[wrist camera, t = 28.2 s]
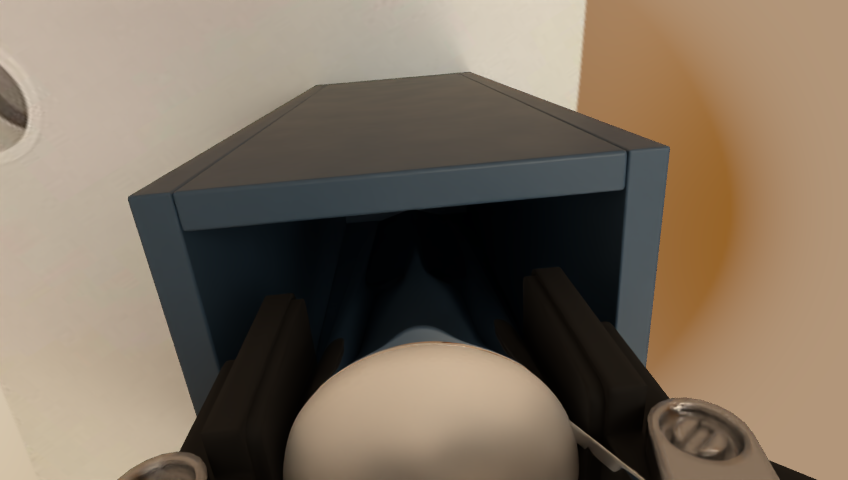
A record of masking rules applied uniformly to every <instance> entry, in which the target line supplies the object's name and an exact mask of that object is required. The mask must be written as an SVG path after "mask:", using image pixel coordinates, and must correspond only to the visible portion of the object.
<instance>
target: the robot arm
mask: <svg viewBox="0 0 848 480" xmlns="http://www.w3.org/2000/svg"><path fill="white" fill-rule="evenodd" d="M523 342H524V344H525V345H526V347H527V348H528V350H529V352H530V353H531V355H532V357H533V358H534V360H535V362H536V363H537V365H538V366H539V368H540V370H541V371H542V373H543V375H544V376H545V378H546V380H547V381H548V383H549V385H550V386H551V388H552V389H553V391H554V393H555V394H556V396H557V398H558V400H559V401H560V403H561V404H562V406H563V408H564V409H565V411H566V413H567V415H568V417H569V419H570V420H571V421H573V422H574V423H575V424H576V425H578V426H579V427H580V428H581V429H583V430H584V431H585V432H587V433H588V434H589V435H590V436H592V437H593V438H594V439H595V440H597V441H598V442H599V443H601V444H602V445H603V446H604V447H606V448H607V449H608V450H609V451H611V452H612V453H613V454H615V455H616V456H617V457H618V458H620V459H621V460H622V461H623V462H625V463H626V464H627V465H629V466H630V467H631V468H632V469H634V470H635V471H636V472H637V473H639V474H640V475H641V476H642V477H644V478H645V479H646V480H816V479H814V478H811V477H808V476H806V475H804V474H801V473H799V472H797V471H794V470H792V469H789V468H787V467H784V466H782V465H779V464H777V463H774V462H772V461H769V460H768V458H767V456H766V454H765V453H764V451H763V449H762V448H761V446H760V444H759V442H758V440H757V439H756V437H755V435H754V434H753V432H752V431H751V430H750V429H749V427H748V426H747V425H746V424H745V422H743V421H742V420H741V419H739V418H738V417H737V416H736V415H734V414H733V413H731V412H729V411H728V410H726V409H724V408H722V407H720V406H718V405H715V404H712V403H709V402H706V401H703V400H698V399H692V398H671V399H669V397H668V396H667V395H666V393H665V392H664V391H663V390H662V388H661V387H660V386H659V384H658V383H657V382H656V380H655V379H654V378H653V377H652V375H651V374H650V373H649V371H648V370H647V369H646V368H645V366H644V365H643V364H642V362H641V361H640V360H639V358H638V357H637V356H636V355H635V353H634V352H633V351H632V349H631V348H630V347H629V345H628V344H627V343H626V342H625V340H624V339H623V338H622V336H621V335H620V334H619V333H618V331H617V330H616V329H615V327H614V326H613V325H612V324H611V323H610V322H607V321H603V322H600V321H599V319H598V318H597V317H596V315H595V314H594V312H593V311H592V310H591V308H590V307H589V306H588V304H587V303H586V302H585V300H584V299H583V298H582V296H581V295H580V293H579V292H578V291H577V289H576V288H575V287H574V285H573V284H572V283H571V281H570V280H569V279H568V277H567V276H566V274H565V273H564V272H563V270H562V269H561V268H560V267H550V268H539V269H533V270H532V273H531V276H525V277H524V279H523ZM317 366H318V365H317V360H316V354H315V349H314V344H313V339H312V334H311V329H310V324H309V318H308V313H307V308H306V304H305V301H304V299H296V297H295V295H294V294H293V293H288V294H278V295H268V296H266V297H265V298H264V300H263V302H262V304H261V306H260V308H259V311H258V313H257V315H256V317H255V319H254V321H253V323H252V325H251V327H250V330H249V332H248V334H247V336H246V338H245V340H244V342H243V344H242V346H241V349H240V351H239V353H238V355H237V357H236V359H234V360H228V361H226V362H225V363H224V365H223V366H222V368H221V370H220V372H219V374H218V376H217V378H216V380H215V382H214V384H213V386H212V388H211V390H210V392H209V394H208V396H207V398H206V400H205V402H204V404H203V406H202V408H201V410H200V412H199V414H198V416H197V418H196V420H195V422H194V424H193V426H192V428H191V430H190V432H189V434H188V436H187V438H186V440H185V442H184V444H183V446H182V448H181V450H180V452H173V453H167V454H162V455H159V456H156V457H154V458H151V459H148V460H146V461H144V462H142V463H140V464H139V465H137V466H135V467H133V468H132V469H130V470H129V471H128V472H126V473H125V474H124V475H123V476H121V477H120V478H119V479H118V480H283V463H284V456H285V450H286V445H287V440H288V436H289V433H290V430H291V427H292V425H293V423H294V421H295V419H296V416H297V414H298V412H299V409H300V407H301V404H302V402H303V399H304V397H305V395H306V392H307V390H308V387H309V385H310V383H311V380H312V378H313V375H314V373H315V371H316V368H317ZM577 447H578V455H579V477H578V480H631V479H630V477H629V476H628V474H627V472H626V471H625V469H620V470H618V471H616V472H611V471H610V470H609V469H608V468H607V467H605V466H604V465H603V464H602V463H601V462H599V461H598V460H597V459H596V458H595V457H593V456H592V455H591V454H590V451H589V448H588V447H587V448H586V449H584V448H583V447H581V446H580V445H579V444H578V443H577Z"/></svg>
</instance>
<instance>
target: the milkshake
mask: <svg viewBox="0 0 848 480" xmlns="http://www.w3.org/2000/svg"><path fill="white" fill-rule="evenodd" d="M577 443H578V444H579V445H580V446H581V447H583V448H584V449H586V448H587V447H588V448H589V451H590V454H591V455H592V456H593V457H595V458H596V459H597V460H598V461H599V462H601V463H602V464H603V465H604V466H605V467H607V468H608V469H609V470H610V471H611V472H616V471H618V470H620V469H625V471H626V472H627V474H628V476H629V477H630V479H631V480H646V479H645V478H644V477H642V476H641V475H640V474H639V473H637V472H636V471H635V470H634V469H632V468H631V467H630V466H629V465H627V464H626V463H625V462H623V461H622V460H621V459H620V458H618V457H617V456H616V455H615V454H613V453H612V452H611V451H609V450H608V449H607V448H606V447H604V446H603V445H602V444H601V443H599V442H598V441H597V440H595V439H594V438H593V437H592V436H590V435H589V434H588V433H587V432H585V431H584V430H583V429H581V428H580V427H579V426H578V425H576V424H575V423H574V422H573V421H571V420H570V419H569V417H568V415H567V413H566V411H565V409H564V408H563V406H562V404H561V403H560V401H559V400H558V398H557V396H556V394H555V393H554V391H553V389H552V388H551V386H550V385H549V383H548V381H547V380H546V378H545V376H544V375H543V373H542V371H541V370H540V368H539V366H538V365H537V363H536V362H535V360H534V358H533V357H532V355H531V353H530V352H529V350H528V348H527V347H526V345H525V344H524V342H523V340H522V339H521V337H520V335H519V334H518V332H517V331H516V329H515V327H514V326H513V324H512V322H511V321H510V319H509V317H508V315H507V314H506V312H505V310H504V308H503V306H502V304H501V302H500V301H499V299H498V297H497V295H496V293H495V291H494V289H493V288H492V286H491V284H490V282H489V280H488V278H487V277H486V275H485V273H484V271H483V269H482V267H481V265H480V264H479V262H478V260H477V258H476V256H475V254H474V253H473V251H472V249H471V247H470V245H469V243H468V242H467V240H466V239H465V238H464V237H463V236H462V234H461V233H460V232H459V231H458V230H457V229H456V228H455V226H454V225H453V224H452V223H451V222H450V221H449V219H448V218H447V217H446V216H445V215H441V214H436V213H432V212H427V211H423V210H409V211H402V212H400V213H397V214H395V215H392V216H389V217H387V218H384V219H382V220H379V222H378V223H377V225H376V226H375V228H374V230H373V231H372V233H371V234H370V236H369V238H368V239H367V241H366V242H365V244H364V245H363V247H362V249H361V251H360V254H359V256H358V259H357V262H356V265H355V268H354V270H353V273H352V276H351V279H350V282H349V284H348V287H347V290H346V293H345V296H344V298H343V301H342V304H341V307H340V310H339V312H338V315H337V318H336V321H335V324H334V326H333V329H332V332H331V335H330V337H329V340H328V342H327V344H326V347H325V349H324V351H323V354H322V356H321V359H320V361H319V363H318V366H317V368H316V371H315V373H314V375H313V378H312V380H311V383H310V385H309V387H308V390H307V392H306V395H305V397H304V399H303V402H302V404H301V407H300V409H299V412H298V414H297V416H296V419H295V421H294V423H293V425H292V427H291V430H290V433H289V436H288V440H287V445H286V450H285V456H284V463H283V480H578V477H579V455H578V447H577Z"/></svg>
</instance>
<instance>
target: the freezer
mask: <svg viewBox="0 0 848 480" xmlns="http://www.w3.org/2000/svg"><path fill="white" fill-rule="evenodd" d="M669 152H670V147H668V146H666V145H663V144H660V143H658V142H655V141H652V140H650V139H647V138H644V137H642V136H639V135H636V134H634V133H631V132H628V131H626V130H623V129H620V128H617V127H615V126H612V125H610V124H607V123H604V122H601V121H599V120H596V119H594V118H591V117H588V116H586V115H583V114H580V113H578V112H575V111H572V110H570V109H567V108H564V107H562V106H559V105H556V104H554V103H551V102H548V101H546V100H543V99H540V98H538V97H535V96H532V95H530V94H527V93H524V92H522V91H519V90H516V89H514V88H511V87H508V86H506V85H503V84H500V83H498V82H495V81H492V80H490V79H487V78H484V77H482V76H479V75H476V74H474V73H471V72H464V73H453V74H441V75H430V76H418V77H406V78H395V79H383V80H372V81H360V82H349V83H337V84H326V85H316V86H314V87H313V88H311V89H309V90H307V91H306V92H304V93H302V94H301V95H299V96H297V97H296V98H294V99H292V100H291V101H289V102H287V103H286V104H284V105H282V106H280V107H279V108H277V109H275V110H274V111H272V112H270V113H269V114H267V115H265V116H264V117H262V118H260V119H259V120H257V121H255V122H254V123H252V124H250V125H248V126H247V127H245V128H243V129H242V130H240V131H238V132H237V133H235V134H233V135H232V136H230V137H228V138H227V139H225V140H223V141H221V142H220V143H218V144H216V145H215V146H213V147H211V148H210V149H208V150H206V151H205V152H203V153H201V154H200V155H198V156H196V157H195V158H193V159H191V160H189V161H188V162H186V163H184V164H183V165H181V166H179V167H178V168H176V169H174V170H173V171H171V172H169V173H168V174H166V175H164V176H162V177H161V178H159V179H157V180H156V181H154V182H152V183H151V184H149V185H147V186H146V187H144V188H142V189H141V190H139V191H137V192H136V193H134V194H132V195H130V196H129V197H128V201H129V205H130V208H131V211H132V214H133V217H134V220H135V223H136V227H137V230H138V233H139V236H140V239H141V242H142V245H143V249H144V252H145V255H146V258H147V261H148V264H149V268H150V271H151V274H152V277H153V280H154V283H155V286H156V290H157V293H158V296H159V299H160V302H161V305H162V309H163V312H164V315H165V318H166V321H167V324H168V327H169V331H170V334H171V337H172V340H173V343H174V346H175V350H176V353H177V356H178V359H179V362H180V365H181V368H182V372H183V375H184V378H185V381H186V384H187V387H188V390H189V394H190V397H191V400H192V403H193V406H194V409H195V413H196V416H198V414H199V412H200V410H201V408H202V406H203V404H204V402H205V400H206V398H207V396H208V394H209V392H210V390H211V388H212V386H213V384H214V382H215V380H216V378H217V376H218V374H219V372H220V370H221V368H222V366H223V365H224V363H225V362H226V361H228V360H234V359H236V357H237V355H238V353H239V351H240V349H241V346H242V344H243V342H244V340H245V338H246V336H247V334H248V332H249V330H250V327H251V325H252V323H253V321H254V319H255V317H256V315H257V313H258V311H259V308H260V306H261V304H262V302H263V300H264V298H265V297H266V296H268V295H278V294H288V293H293V294H294V295H295V297H296V299H304V301H305V304H306V308H307V313H308V318H309V324H310V329H311V334H312V339H313V344H314V349H315V354H316V360H317V365H318V363H319V361H320V359H321V356H322V354H323V351H324V349H325V347H326V344H327V342H328V340H329V337H330V335H331V332H332V329H333V326H334V324H335V321H336V318H337V315H338V312H339V310H340V307H341V304H342V301H343V298H344V296H345V293H346V290H347V287H348V284H349V282H350V279H351V276H352V273H353V270H354V268H355V265H356V262H357V259H358V256H359V254H360V251H361V249H362V247H363V245H364V244H365V242H366V241H367V239H368V238H369V236H370V234H371V233H372V231H373V230H374V228H375V226H376V225H377V223H378V222H379V220H382V219H384V218H387V217H389V216H392V215H395V214H397V213H400V212H402V211H409V210H423V211H427V212H432V213H436V214H441V215H445V216H446V217H447V218H448V219H449V221H450V222H451V223H452V224H453V225H454V226H455V228H456V229H457V230H458V231H459V232H460V233H461V234H462V236H463V237H464V238H465V239H466V240H467V242H468V243H469V245H470V247H471V249H472V251H473V253H474V254H475V256H476V258H477V260H478V262H479V264H480V265H481V267H482V269H483V271H484V273H485V275H486V277H487V278H488V280H489V282H490V284H491V286H492V288H493V289H494V291H495V293H496V295H497V297H498V299H499V301H500V302H501V304H502V306H503V308H504V310H505V312H506V314H507V315H508V317H509V319H510V321H511V322H512V324H513V326H514V327H515V329H516V331H517V332H518V334H519V335H520V337H521V339H522V340H523V279H524V277H525V276H531V273H532V270H533V269H539V268H550V267H560V268H561V269H562V270H563V272H564V273H565V274H566V276H567V277H568V279H569V280H570V281H571V283H572V284H573V285H574V287H575V288H576V289H577V291H578V292H579V293H580V295H581V296H582V298H583V299H584V300H585V302H586V303H587V304H588V306H589V307H590V308H591V310H592V311H593V312H594V314H595V315H596V317H597V318H598V319H599V321H600V322H603V321H607V322H610V323H611V324H612V325H613V326H614V327H615V329H616V330H617V331H618V333H619V334H620V335H621V336H622V338H623V339H624V340H625V342H626V343H627V344H628V345H629V347H630V348H631V349H632V351H633V352H634V353H635V355H636V356H637V357H638V358H639V360H640V361H641V362H642V364H643V365H644V366H645V368H646V361H647V352H648V343H649V334H650V325H651V315H652V307H653V297H654V289H655V279H656V271H657V261H658V252H659V243H660V233H661V225H662V215H663V207H664V198H665V188H666V179H667V170H668V161H669Z"/></svg>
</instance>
